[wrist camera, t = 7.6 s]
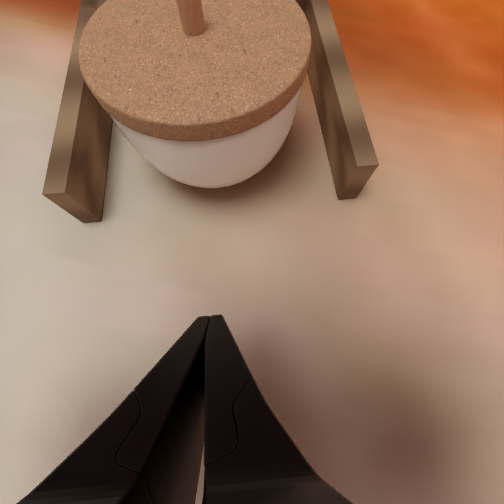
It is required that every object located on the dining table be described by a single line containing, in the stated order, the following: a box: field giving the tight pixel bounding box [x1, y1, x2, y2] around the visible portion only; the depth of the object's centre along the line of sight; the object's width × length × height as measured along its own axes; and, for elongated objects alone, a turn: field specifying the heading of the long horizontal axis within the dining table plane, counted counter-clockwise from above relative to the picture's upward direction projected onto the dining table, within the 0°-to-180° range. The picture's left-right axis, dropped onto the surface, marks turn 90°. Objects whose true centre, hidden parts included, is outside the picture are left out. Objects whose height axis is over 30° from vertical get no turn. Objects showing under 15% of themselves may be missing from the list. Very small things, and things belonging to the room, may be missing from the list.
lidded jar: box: [78, 0, 312, 188], centre depth 15 cm, size 11×11×9 cm
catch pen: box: [42, 0, 379, 223], centre depth 19 cm, size 17×18×4 cm
